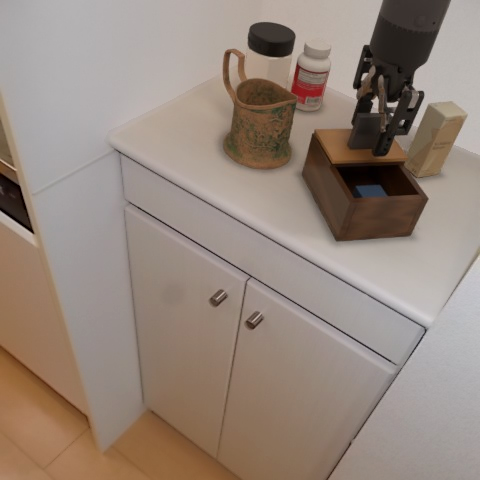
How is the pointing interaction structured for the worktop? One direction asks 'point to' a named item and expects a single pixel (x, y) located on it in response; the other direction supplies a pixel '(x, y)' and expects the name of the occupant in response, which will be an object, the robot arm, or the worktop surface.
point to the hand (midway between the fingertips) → (367, 139)
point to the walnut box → (363, 209)
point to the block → (368, 191)
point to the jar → (269, 52)
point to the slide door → (358, 142)
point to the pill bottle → (311, 74)
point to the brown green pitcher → (258, 119)
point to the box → (434, 138)
